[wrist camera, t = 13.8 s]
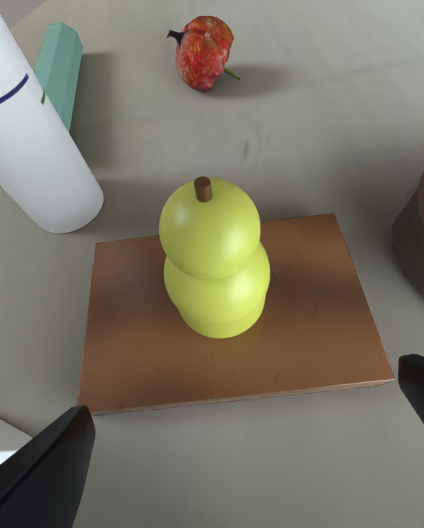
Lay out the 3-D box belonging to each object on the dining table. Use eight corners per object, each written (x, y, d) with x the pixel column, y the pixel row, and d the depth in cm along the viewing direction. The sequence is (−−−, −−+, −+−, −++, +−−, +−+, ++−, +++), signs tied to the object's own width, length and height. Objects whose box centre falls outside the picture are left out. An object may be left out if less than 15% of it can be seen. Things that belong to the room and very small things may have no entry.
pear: (285, 291, 22) (319, 172, 12) (222, 360, 20) (202, 286, 10) (218, 242, 25) (201, 110, 15) (157, 298, 23) (90, 191, 13)
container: (39, 6, 42) (-1, 118, 29) (86, 19, 43) (68, 130, 31) (45, 53, 46) (13, 167, 33) (87, 63, 48) (72, 175, 35)
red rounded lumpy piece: (227, 80, 44) (163, 35, 39) (261, 36, 38) (190, -23, 33) (220, 119, 41) (150, 75, 36) (255, 77, 35) (177, 20, 30)
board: (379, 385, 21) (395, 379, 19) (91, 415, 22) (74, 413, 19) (327, 230, 27) (334, 212, 25) (107, 257, 28) (95, 242, 26)
